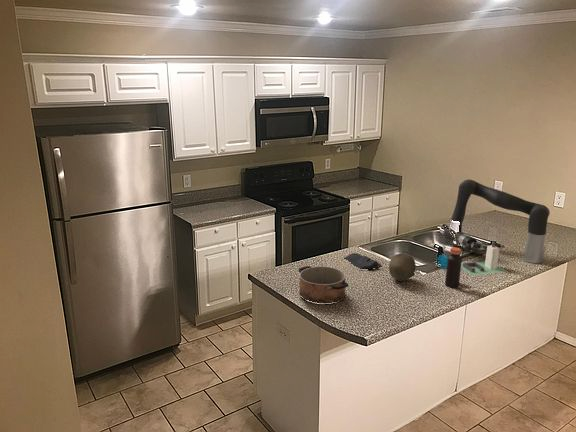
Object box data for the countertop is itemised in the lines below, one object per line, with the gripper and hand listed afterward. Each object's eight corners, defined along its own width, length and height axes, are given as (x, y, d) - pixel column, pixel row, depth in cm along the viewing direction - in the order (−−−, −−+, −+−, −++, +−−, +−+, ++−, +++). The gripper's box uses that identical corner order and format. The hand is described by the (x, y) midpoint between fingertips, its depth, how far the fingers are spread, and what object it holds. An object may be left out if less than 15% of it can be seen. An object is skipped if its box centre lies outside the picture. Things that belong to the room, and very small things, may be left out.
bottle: (457, 289, 230) (461, 252, 225) (443, 286, 234) (447, 249, 228) (460, 284, 236) (464, 248, 230) (446, 281, 239) (450, 245, 234)
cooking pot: (360, 299, 220) (361, 279, 217) (326, 313, 207) (326, 291, 204) (318, 279, 243) (318, 261, 240) (285, 291, 229) (285, 271, 227)
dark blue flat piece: (359, 255, 278) (359, 248, 276) (383, 267, 259) (384, 259, 258) (339, 260, 270) (339, 253, 269) (362, 273, 252) (363, 265, 251)
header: (472, 264, 260) (472, 260, 259) (484, 271, 250) (484, 267, 249) (460, 265, 258) (460, 261, 258) (471, 272, 248) (472, 268, 248)
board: (489, 263, 264) (489, 261, 264) (507, 273, 249) (508, 271, 249) (455, 266, 260) (455, 264, 259) (471, 277, 245) (472, 275, 244)
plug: (491, 265, 258) (494, 240, 254) (497, 269, 252) (501, 243, 248) (484, 265, 257) (487, 240, 253) (491, 269, 252) (494, 244, 247)
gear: (441, 269, 251) (436, 253, 256) (435, 274, 256) (430, 257, 260) (458, 270, 254) (453, 253, 259) (452, 274, 259) (447, 258, 264)
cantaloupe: (382, 277, 245) (383, 251, 240) (404, 274, 249) (406, 248, 245) (397, 288, 232) (399, 260, 228) (420, 284, 237) (422, 257, 233)
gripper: (457, 236, 274) (473, 245, 258) (478, 235, 276) (495, 243, 261) (456, 248, 276) (471, 257, 260) (477, 246, 278) (494, 255, 263)
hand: (483, 250), depth 261 cm, fingers open, 8 cm apart
